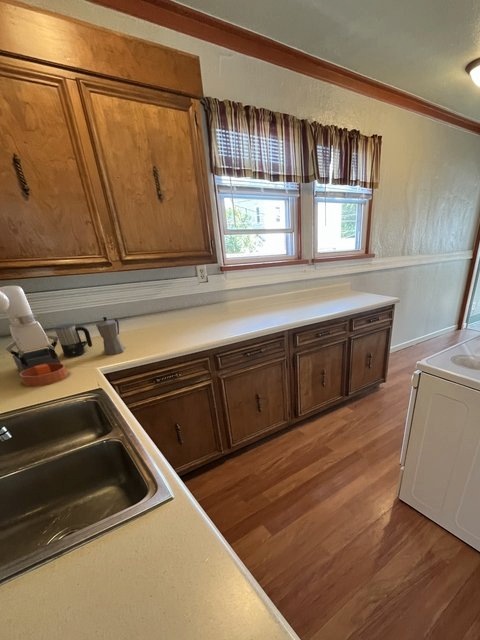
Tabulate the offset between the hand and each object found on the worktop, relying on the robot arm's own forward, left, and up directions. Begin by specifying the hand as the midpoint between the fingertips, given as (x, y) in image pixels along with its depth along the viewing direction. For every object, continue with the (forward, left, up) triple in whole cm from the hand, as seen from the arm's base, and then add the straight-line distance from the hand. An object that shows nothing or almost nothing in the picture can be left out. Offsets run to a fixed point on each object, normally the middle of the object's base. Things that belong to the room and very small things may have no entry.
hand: (40, 361), depth 132 cm
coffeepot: (+35, +16, -8) cm, 39 cm away
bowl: (0, 0, -8) cm, 8 cm away
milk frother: (+22, +32, -8) cm, 39 cm away
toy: (0, 0, -8) cm, 8 cm away
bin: (+2, +16, -8) cm, 18 cm away
